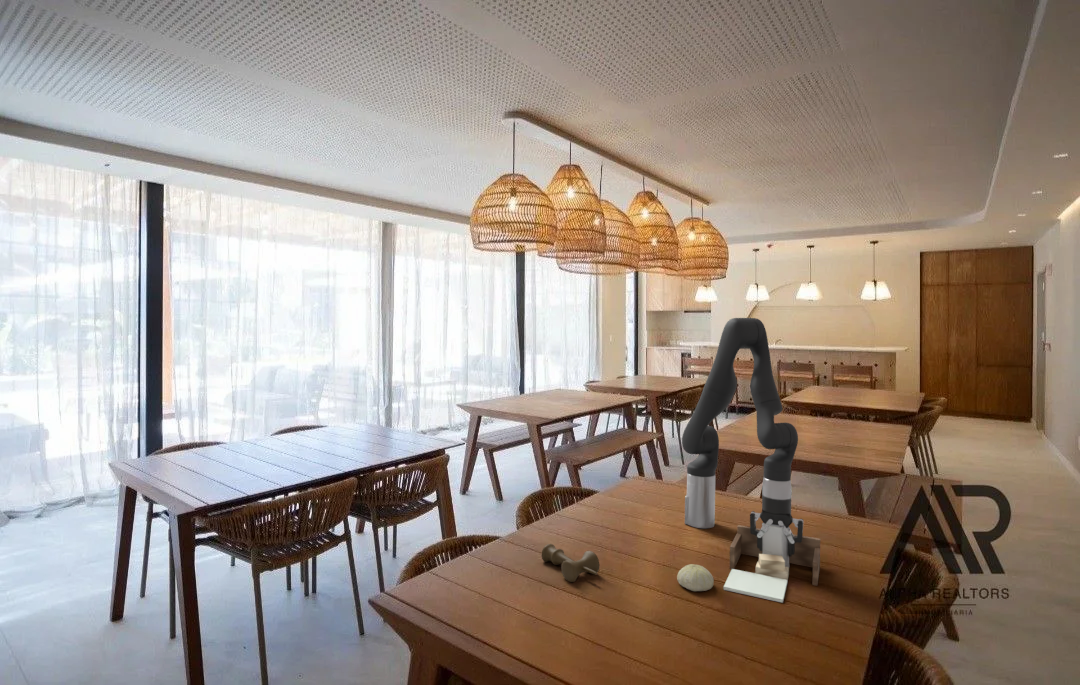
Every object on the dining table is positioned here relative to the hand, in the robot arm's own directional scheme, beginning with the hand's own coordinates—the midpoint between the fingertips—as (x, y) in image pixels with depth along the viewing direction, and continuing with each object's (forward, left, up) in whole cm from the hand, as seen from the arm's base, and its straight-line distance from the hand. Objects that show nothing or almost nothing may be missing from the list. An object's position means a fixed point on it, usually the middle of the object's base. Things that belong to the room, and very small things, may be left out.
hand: (775, 552), depth 159 cm
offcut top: (0, -6, -2) cm, 6 cm away
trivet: (-3, -15, -4) cm, 16 cm away
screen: (0, -1, -4) cm, 4 cm away
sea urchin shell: (-17, -22, -4) cm, 29 cm away
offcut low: (0, -6, -4) cm, 7 cm away
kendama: (-49, -31, -4) cm, 58 cm away
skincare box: (0, 0, -4) cm, 4 cm away
